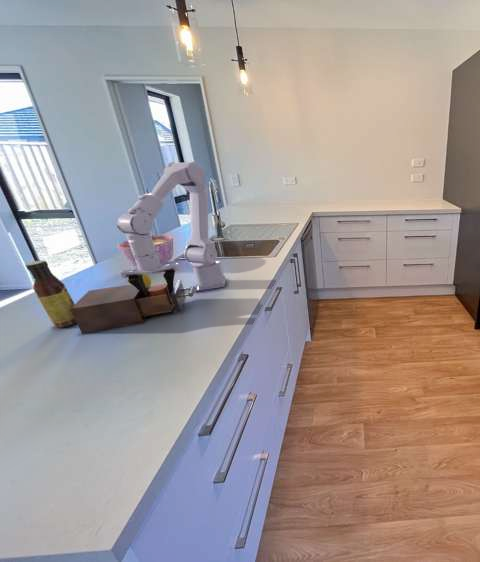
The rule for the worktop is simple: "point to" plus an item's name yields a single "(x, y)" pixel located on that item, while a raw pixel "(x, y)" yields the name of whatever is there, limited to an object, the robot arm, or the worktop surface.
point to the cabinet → (107, 309)
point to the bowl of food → (161, 245)
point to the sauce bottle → (52, 294)
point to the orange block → (159, 291)
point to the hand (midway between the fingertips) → (159, 294)
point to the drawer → (164, 300)
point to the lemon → (146, 280)
